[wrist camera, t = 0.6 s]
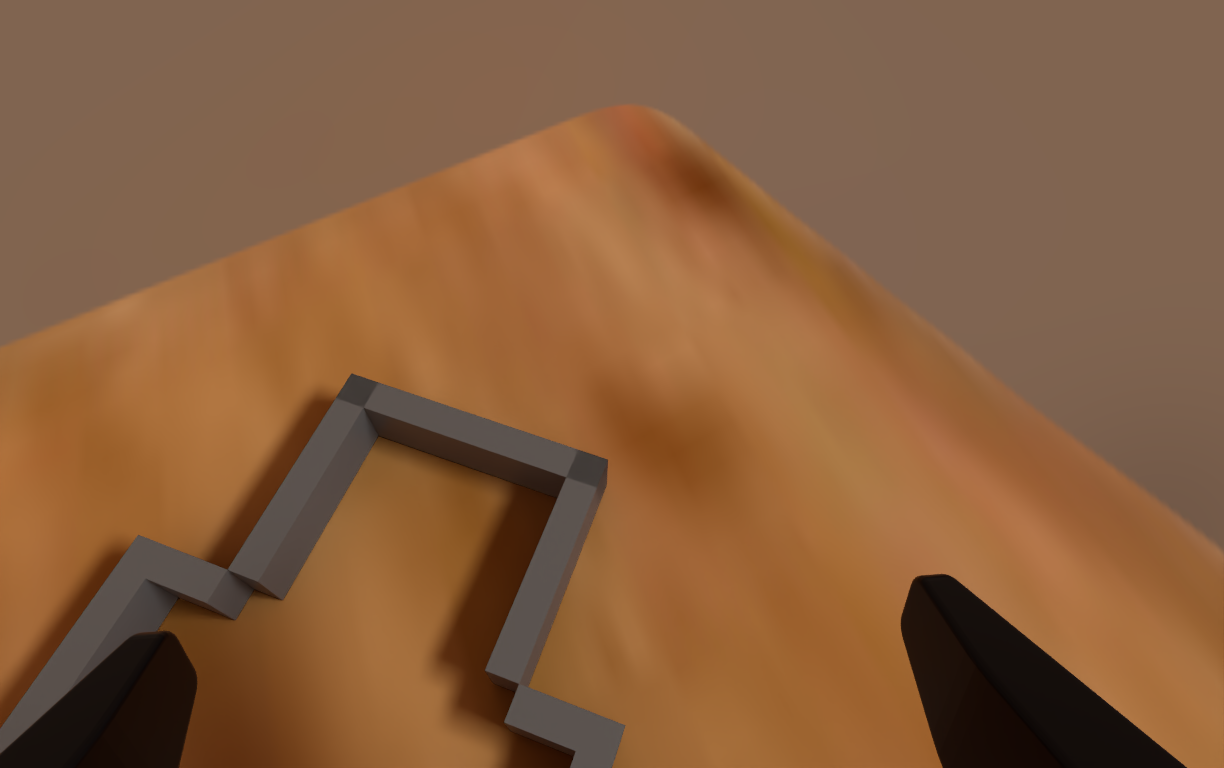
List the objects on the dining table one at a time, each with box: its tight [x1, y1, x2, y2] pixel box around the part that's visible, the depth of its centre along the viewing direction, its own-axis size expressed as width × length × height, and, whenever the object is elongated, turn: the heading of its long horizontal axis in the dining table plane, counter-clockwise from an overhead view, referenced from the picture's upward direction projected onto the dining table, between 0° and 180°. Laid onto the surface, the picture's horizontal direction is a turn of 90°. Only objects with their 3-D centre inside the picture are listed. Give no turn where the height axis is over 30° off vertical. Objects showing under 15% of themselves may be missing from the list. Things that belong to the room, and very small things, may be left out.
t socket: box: [0, 374, 625, 768], centre depth 21 cm, size 17×15×2 cm
